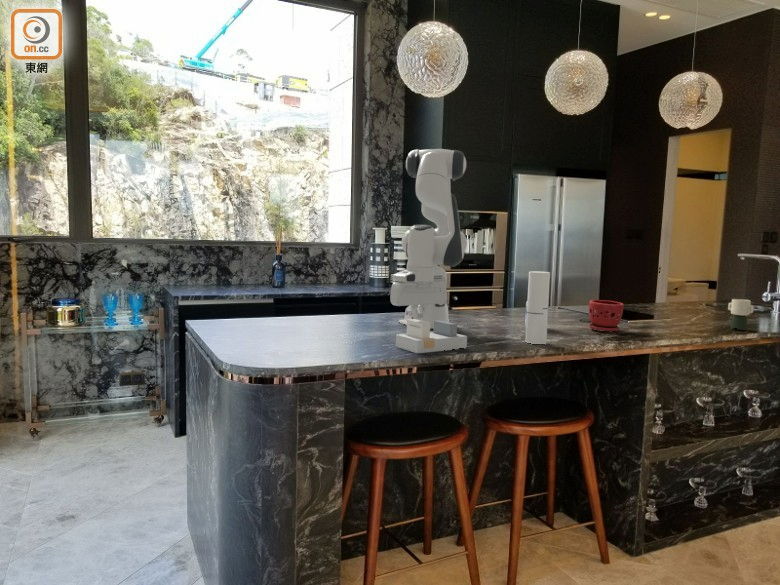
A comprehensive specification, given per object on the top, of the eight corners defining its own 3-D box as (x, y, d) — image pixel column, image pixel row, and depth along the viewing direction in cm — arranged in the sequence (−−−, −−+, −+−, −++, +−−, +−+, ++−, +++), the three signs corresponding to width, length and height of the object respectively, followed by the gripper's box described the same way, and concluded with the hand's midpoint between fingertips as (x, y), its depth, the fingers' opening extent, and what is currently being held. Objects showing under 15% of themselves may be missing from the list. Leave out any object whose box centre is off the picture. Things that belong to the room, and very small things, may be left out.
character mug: (756, 331, 253) (759, 301, 251) (746, 332, 250) (748, 301, 248) (731, 327, 262) (734, 298, 261) (721, 328, 259) (723, 298, 258)
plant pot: (589, 332, 238) (590, 302, 237) (586, 327, 251) (588, 298, 250) (623, 334, 235) (626, 304, 234) (619, 329, 248) (621, 300, 247)
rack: (395, 346, 196) (396, 322, 195) (443, 342, 207) (444, 319, 206) (417, 353, 186) (418, 328, 185) (466, 348, 197) (468, 324, 196)
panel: (429, 347, 191) (430, 322, 190) (421, 348, 189) (422, 323, 188) (413, 343, 198) (414, 319, 197) (406, 343, 196) (406, 319, 195)
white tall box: (550, 344, 209) (554, 272, 206) (535, 345, 205) (539, 272, 203) (536, 340, 215) (539, 271, 213) (520, 342, 212) (524, 271, 209)
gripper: (439, 274, 199) (438, 315, 201) (388, 275, 188) (387, 318, 190) (451, 276, 194) (450, 318, 195) (399, 276, 183) (398, 321, 184)
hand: (418, 318), depth 192 cm, fingers closed
